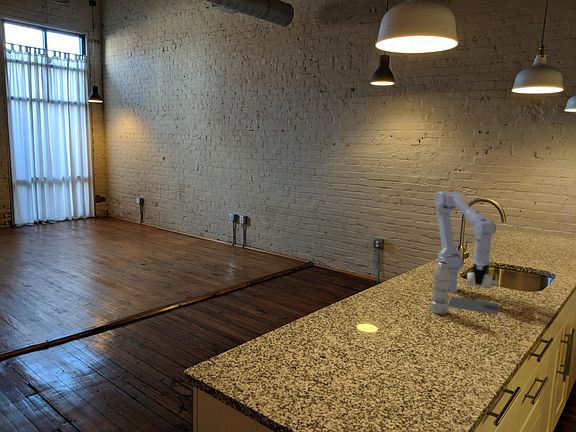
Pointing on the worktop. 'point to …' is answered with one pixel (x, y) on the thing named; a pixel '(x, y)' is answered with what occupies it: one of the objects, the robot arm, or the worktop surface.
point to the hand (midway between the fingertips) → (478, 282)
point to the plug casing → (485, 284)
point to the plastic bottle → (441, 289)
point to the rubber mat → (474, 305)
